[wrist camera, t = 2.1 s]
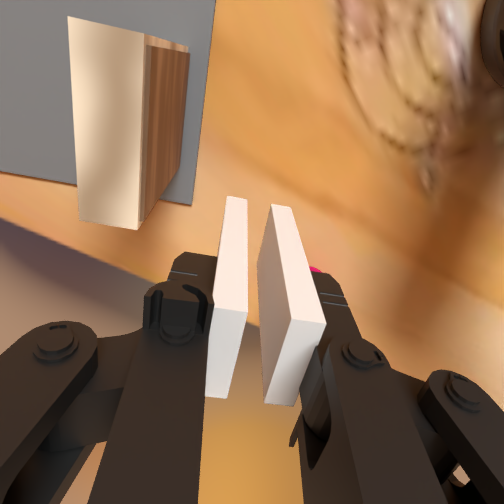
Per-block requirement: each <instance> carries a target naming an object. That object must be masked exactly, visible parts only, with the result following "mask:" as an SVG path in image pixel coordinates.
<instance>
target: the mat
mask: <svg viewBox="0 0 504 504" xmlns="http://www.w3.org/2000/svg"><path fill="white" fill-rule="evenodd" d="M215 3H216V0H0V171H3V172H9V173H14V174H20V175H26V176H31V177H37V178H43V179H48V180H54V181H59V182H65V183H71V184H76V185H77V172H76V155H75V138H74V120H73V103H72V86H71V68H70V51H69V34H68V17H67V16H70V17H74V18H78V19H83V20H87V21H91V22H96V23H100V24H105V25H109V26H113V27H118V28H122V29H126V30H131V31H135V32H140V33H144V34H147V35H151V36H154V37H157V38H161V39H164V40H167V41H171V42H174V43H177V44H181V45H184V46H187V47H189V48H188V53H190V63H189V74H188V85H187V95H186V106H185V117H184V128H183V138H182V149H181V160H180V167H179V168H178V170H177V172H176V173H175V175H174V176H173V178H172V179H171V181H170V182H169V184H168V185H167V187H166V188H165V190H164V192H163V193H162V195H161V196H160V198H159V199H161V200H167V201H172V202H178V203H184V204H189V205H192V200H193V191H194V183H195V174H196V166H197V157H198V149H199V140H200V132H201V123H202V114H203V106H204V97H205V89H206V80H207V72H208V63H209V55H210V46H211V38H212V29H213V20H214V12H215Z"/></svg>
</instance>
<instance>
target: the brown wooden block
mask: <svg viewBox="0 0 504 504" xmlns="http://www.w3.org/2000/svg"><path fill="white" fill-rule="evenodd" d="M67 17H68V34H69V51H70V68H71V86H72V103H73V120H74V138H75V155H76V172H77V189H78V207H79V221H85V222H91V223H97V224H103V225H109V226H115V227H121V228H127V229H133V230H138V229H139V227H140V226H141V224H142V222H144V221H145V219H146V218H147V216H148V215H149V213H150V212H151V210H152V208H153V207H154V205H155V204H156V202H157V201H158V199H159V198H160V196H161V195H162V193H163V192H164V190H165V188H166V187H167V185H168V184H169V182H170V181H171V179H172V178H173V176H174V175H175V173H176V172H177V170H178V168H179V167H180V160H181V149H182V138H183V128H184V117H185V106H186V95H187V85H188V74H189V63H190V53H188V48H189V47H187V46H184V45H181V44H177V43H174V42H171V41H167V40H164V39H161V38H157V37H154V36H151V35H147V34H144V33H140V32H135V31H131V30H126V29H122V28H118V27H113V26H109V25H105V24H100V23H96V22H91V21H87V20H83V19H78V18H74V17H70V16H67Z"/></svg>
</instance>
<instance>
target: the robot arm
mask: <svg viewBox="0 0 504 504" xmlns="http://www.w3.org/2000/svg"><path fill="white" fill-rule="evenodd" d="M480 38H481V50H482V56H483V59H484V62H485V65H486V67H487V69H488V71H489V73H490V75H491V76H492V77H493V79H494V80H495V81H496V82H497V83H498V84H499V85H500V86H502V87H503V88H504V0H487V1H486V5H485V8H484V12H483V17H482V23H481V37H480ZM257 280H258V299H259V318H260V338H261V357H262V374H263V375H262V376H263V396H264V403H268V404H277V405H285V406H294V404H295V402H296V399H297V397H298V394H299V392H300V397H301V403H302V410H301V413H300V415H299V417H298V420H297V422H296V425H295V427H294V429H293V432H292V434H291V437H290V442H289V446H290V447H294V444H295V442H296V440H297V438H298V443H299V454H300V466H301V477H302V487H303V499H304V504H504V412H503V411H502V409H501V408H500V407H499V406H498V405H497V404H496V403H495V402H494V401H493V400H492V398H491V397H490V396H489V395H488V394H487V393H486V392H485V391H484V390H482V389H481V388H480V387H479V386H478V385H477V384H476V383H474V382H472V381H471V380H469V379H468V378H466V377H465V376H462V375H460V374H457V373H455V372H452V371H447V370H437V371H433V372H432V373H431V375H430V376H429V378H428V379H427V381H426V382H424V381H421V380H419V379H416V378H414V377H411V376H408V375H406V374H403V373H401V372H398V371H396V370H394V369H392V368H391V367H390V364H389V362H388V360H387V359H386V357H385V356H384V354H383V353H382V352H381V351H380V350H379V349H378V348H377V347H376V346H375V345H373V344H372V343H370V342H368V341H366V340H365V339H363V338H362V337H361V334H360V332H359V330H358V327H357V325H356V323H355V320H354V318H353V315H352V313H351V311H350V308H349V307H348V304H347V301H346V299H345V298H344V294H343V292H342V289H341V287H340V285H339V283H338V282H337V281H336V280H335V279H334V278H333V277H332V276H331V275H330V274H327V273H321V272H315V271H310V269H309V265H308V262H307V259H306V256H305V252H304V249H303V246H302V243H301V239H300V236H299V233H298V230H297V227H296V223H295V220H294V217H293V214H292V210H291V207H286V206H281V205H275V204H271V206H270V211H269V215H268V219H267V223H266V227H265V232H264V236H263V240H262V244H261V248H260V253H259V257H258V261H257ZM247 314H248V252H247V199H242V198H237V197H231V196H227V200H226V206H225V212H224V218H223V224H222V230H221V236H220V241H219V247H218V253H217V257H215V256H209V255H202V254H196V253H190V252H184V253H182V254H181V255H180V256H178V257H177V258H176V259H175V260H174V262H173V265H172V268H171V272H170V273H169V276H168V279H167V281H165V282H161V283H158V284H156V285H155V286H153V287H151V288H150V289H149V290H148V291H147V293H146V294H145V296H144V310H143V328H141V329H139V330H138V331H135V332H132V333H129V334H125V335H121V336H113V337H105V338H97V335H96V334H95V333H94V332H93V330H92V329H91V328H90V327H88V326H86V325H84V324H82V323H79V322H72V321H59V322H51V323H48V324H45V325H42V326H39V327H36V328H34V329H33V330H31V331H29V332H28V333H26V334H25V335H23V336H22V337H21V338H20V339H18V340H17V341H16V342H15V343H14V344H13V345H11V346H10V347H9V348H8V349H7V350H6V351H5V352H3V353H2V354H1V355H0V504H60V502H61V501H62V499H63V498H64V496H65V494H66V493H67V491H68V489H69V488H70V486H71V484H72V483H73V481H74V479H75V478H76V476H77V475H78V473H79V471H80V470H81V468H82V466H83V465H84V463H85V461H86V460H87V458H88V456H89V455H90V453H91V452H92V450H93V448H94V447H95V445H96V443H100V442H104V441H107V443H106V447H105V449H104V453H103V456H102V459H101V462H100V465H99V468H98V472H97V475H96V478H95V481H94V484H93V487H92V491H91V494H90V497H89V500H88V503H87V504H198V490H199V476H200V461H201V447H202V431H203V416H204V402H205V396H208V397H216V398H225V399H227V396H228V392H229V387H230V384H231V380H232V375H233V371H234V367H235V363H236V359H237V355H238V351H239V346H240V343H241V338H242V334H243V330H244V326H245V322H246V318H247ZM459 465H461V467H462V468H463V470H464V471H465V473H466V474H467V475H468V477H469V478H470V481H469V482H468V483H467V484H466V485H464V484H463V483H461V482H460V481H458V479H457V478H456V477H455V476H454V475H453V472H454V471H455V470H456V469H457V467H458V466H459Z"/></svg>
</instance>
